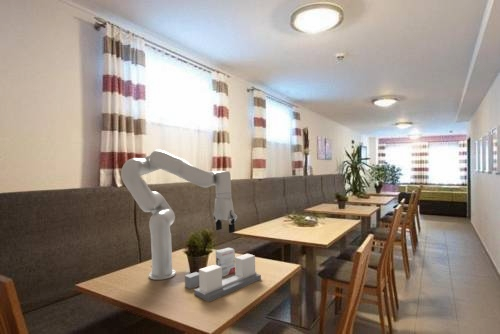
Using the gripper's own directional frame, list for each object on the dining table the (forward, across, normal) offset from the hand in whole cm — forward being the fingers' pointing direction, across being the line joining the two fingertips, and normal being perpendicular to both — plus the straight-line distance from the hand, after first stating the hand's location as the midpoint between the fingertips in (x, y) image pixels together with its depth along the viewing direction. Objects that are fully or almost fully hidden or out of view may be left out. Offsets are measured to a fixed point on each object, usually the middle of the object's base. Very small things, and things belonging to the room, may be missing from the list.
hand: (225, 230), depth 147 cm
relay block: (+21, 0, -20) cm, 29 cm away
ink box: (+21, 0, 0) cm, 21 cm away
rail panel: (+21, +12, -10) cm, 26 cm away
